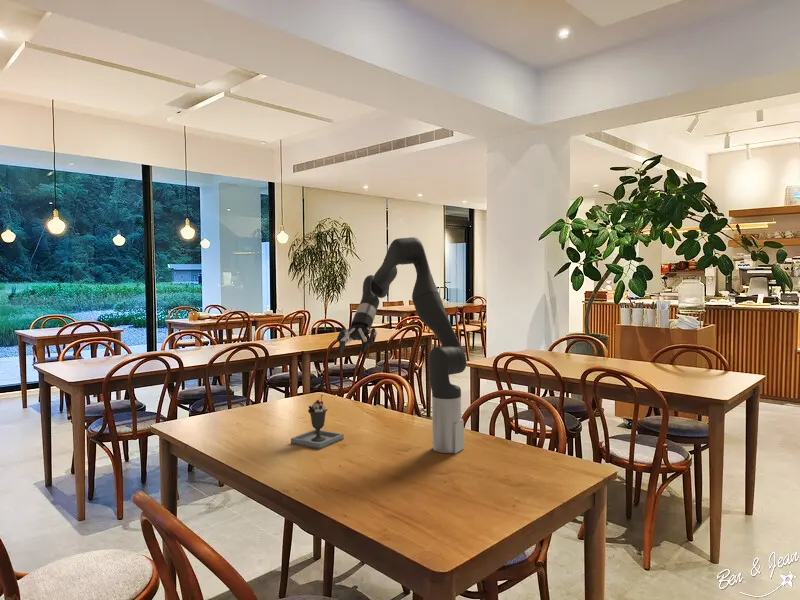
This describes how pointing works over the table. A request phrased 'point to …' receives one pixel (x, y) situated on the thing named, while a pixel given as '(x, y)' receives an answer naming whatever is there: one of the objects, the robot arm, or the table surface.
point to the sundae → (318, 418)
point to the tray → (307, 442)
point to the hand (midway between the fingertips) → (350, 351)
